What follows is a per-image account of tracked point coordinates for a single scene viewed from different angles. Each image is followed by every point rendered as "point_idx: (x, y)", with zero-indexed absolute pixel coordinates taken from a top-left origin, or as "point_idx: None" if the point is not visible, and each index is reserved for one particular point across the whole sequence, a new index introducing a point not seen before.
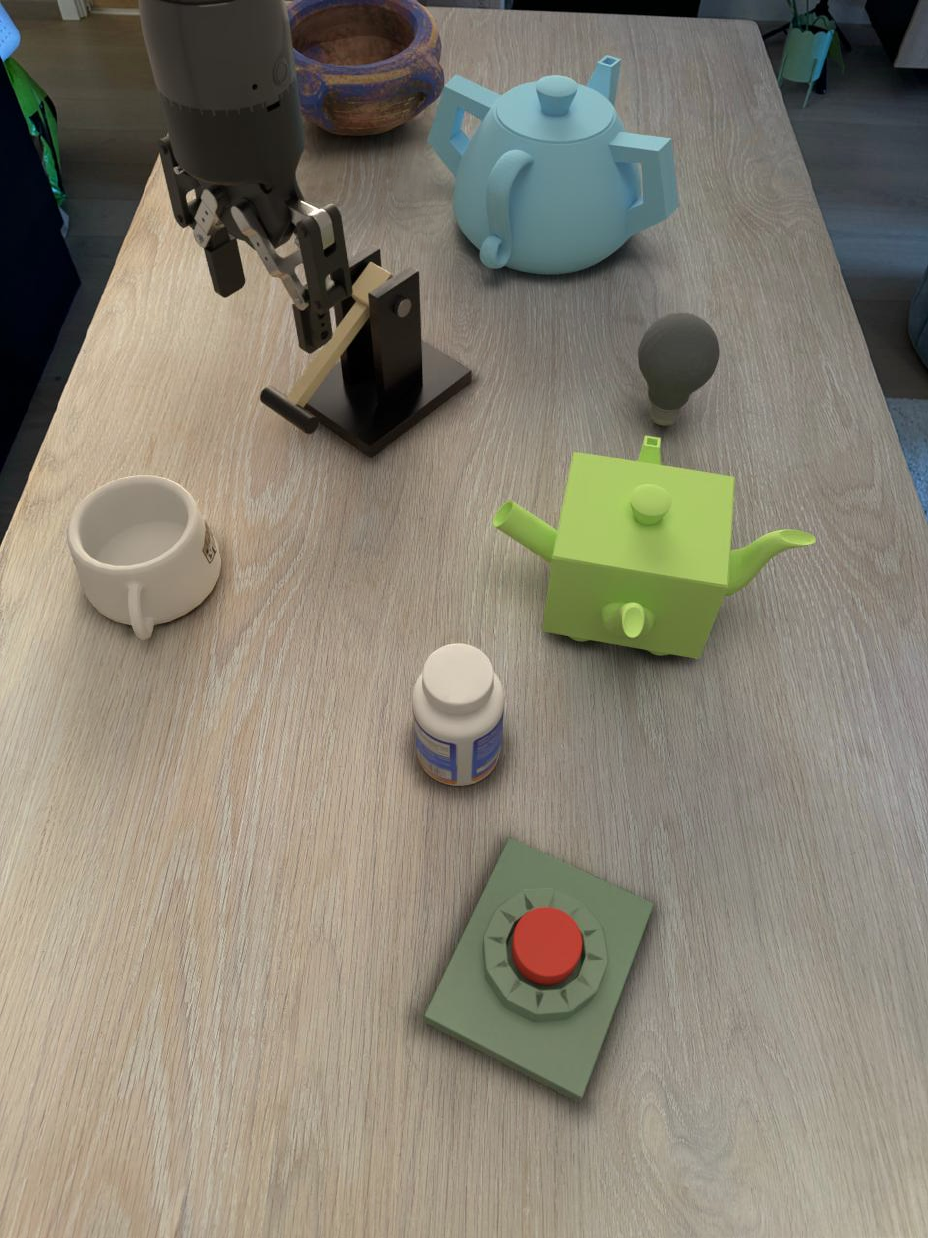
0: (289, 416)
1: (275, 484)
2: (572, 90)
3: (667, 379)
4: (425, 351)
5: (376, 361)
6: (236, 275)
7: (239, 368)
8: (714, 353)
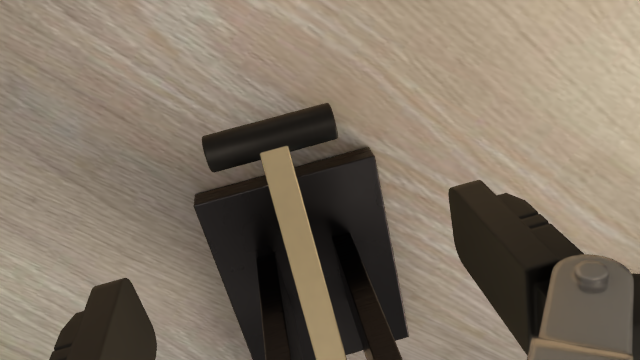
0: (246, 130)
1: (222, 37)
2: None
3: None
4: None
5: (275, 313)
6: (471, 258)
7: (495, 109)
8: None
